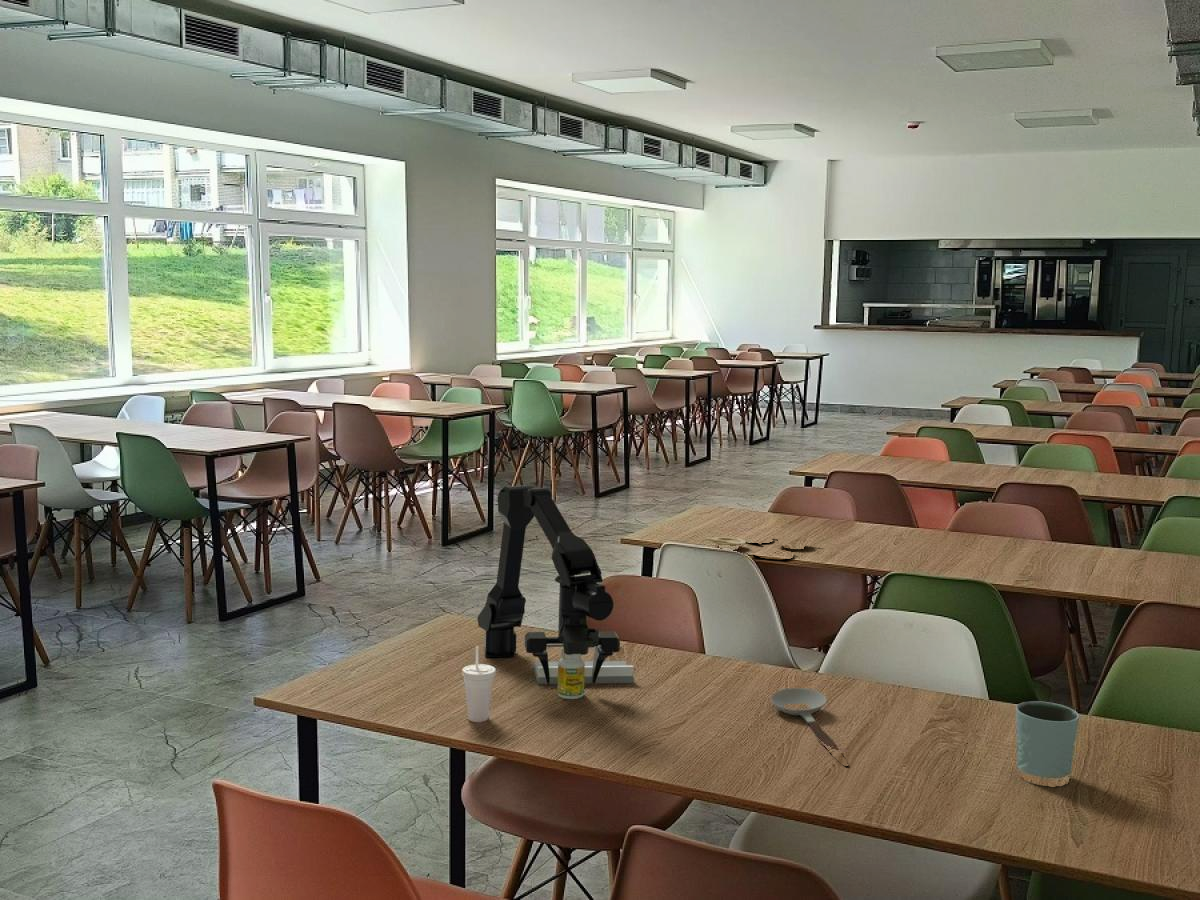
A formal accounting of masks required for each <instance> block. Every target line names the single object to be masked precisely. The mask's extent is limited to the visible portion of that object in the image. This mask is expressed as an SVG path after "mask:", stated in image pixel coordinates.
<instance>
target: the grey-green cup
mask: <svg viewBox="0 0 1200 900" xmlns="http://www.w3.org/2000/svg"><path fill="white" fill-rule="evenodd" d="M1079 723H1080V714H1079V713H1078V711H1076V710H1075V709H1074V708H1071V707H1069V706H1066V705H1063V704H1058V703H1055V702H1049V701H1048V702H1047V701H1038V700H1033V701H1032V700H1031V701H1023V702H1021V703H1018V704H1017V705H1016V706H1015V724H1016V725H1015V726H1016V734H1017V735H1016V751H1017V757H1016V766H1017V765H1018V768H1019V769H1020V770H1022V771H1023V772H1025V773H1028V774H1031V775H1035V776H1040V777H1046V778H1062V777H1065V776H1067V775H1070V773H1071V774H1072V765H1073V763H1072V762H1073V760H1074V752H1075V748H1076V747H1075V746H1074V744H1075V742H1076V739H1077V734H1078V728H1079ZM1070 776H1071V775H1070Z"/></svg>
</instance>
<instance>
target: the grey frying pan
mask: <svg viewBox="0 0 1200 900" xmlns="http://www.w3.org/2000/svg"><path fill="white" fill-rule="evenodd" d="M827 700H828V699H827V696H826V695H825V694H824V693H822V692H820V691H818V690H815V689H812V688H811V689H810V688H805V687H803V688H802V687H790V688H783V689H780V690H777V691H775V692H774V693H772V694H771V696H770V702H771V703H772V704H773V706H774V707H776V708H777V709H778V710H780V712H783V713H785V714H787V713H788V714H787V715H790V714H792V715H791V716H795V715H800V717H802V718H803V719H804V720H805V722H806V723H807V724H808V725H809V726H810V727H811V729H812V730H813V732H814V731H815V732H814V733H815V735H816V737H817V736H818V737H819V739H820V740H821V741H822V742H824V744H826V745H827V746H830V747H832V746H833V747H832V748H831V749H836V750H839V749H840V748H839V747H838V745H837V744H836V742H835V741H834V740H833V739H832V738H831V737H830V736H829V735H828V733H826V732H825V731H824V730H823V728H821V726H820V725H819V724H818V722H817V721H816V720H815V718H814V717H813V715H812V714H814V713H816V712H817V711H819V710H821V708H822V707H824V706H825V704H826V703H827ZM791 703H792V704H803V705H807V706H808V707H810V708H811V709H808V710H792V709H786V708H782V707H783V706H785V705H786V704H791ZM818 737H817V738H818ZM819 739H818V740H819ZM837 747H838V748H839V749H838V748H837Z"/></svg>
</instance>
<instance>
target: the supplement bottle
mask: <svg viewBox="0 0 1200 900" xmlns="http://www.w3.org/2000/svg"><path fill="white" fill-rule="evenodd" d="M581 657H582V655H581V654H572V655H567V654H565V653H564V648H563V647H562V649H561V658H559V660H558V661H557V662H558V684H557V695H558V696H559V697H560V698H561V699H564V700H578V699H581V698H582V697H584V695H585V684H584V669H585V663H584V661H585V660H584V659H583V658H581Z"/></svg>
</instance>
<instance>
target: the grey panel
mask: <svg viewBox="0 0 1200 900" xmlns="http://www.w3.org/2000/svg"><path fill="white" fill-rule="evenodd" d="M593 661H594V660H591V661H585V660H584V663H585V669H584V685H585V684H593V683H592V670H593ZM558 662H559V661H548V665H549V675H550V683H549V684H547V681H546V677H545V673H544V670H543V667H542V664H541V662H540V661H534V664H533V665H534V666H533V671H534V673H535V678H536V682H537V684H538V685H558ZM631 683H632V684H633V683H634V665H628V662H627V661H626V660H608V661H607V660H604V662H603V664H602V666H601V668H600V671H599V674H598V676H597V679H596V681H595V683H594V684H631Z"/></svg>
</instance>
